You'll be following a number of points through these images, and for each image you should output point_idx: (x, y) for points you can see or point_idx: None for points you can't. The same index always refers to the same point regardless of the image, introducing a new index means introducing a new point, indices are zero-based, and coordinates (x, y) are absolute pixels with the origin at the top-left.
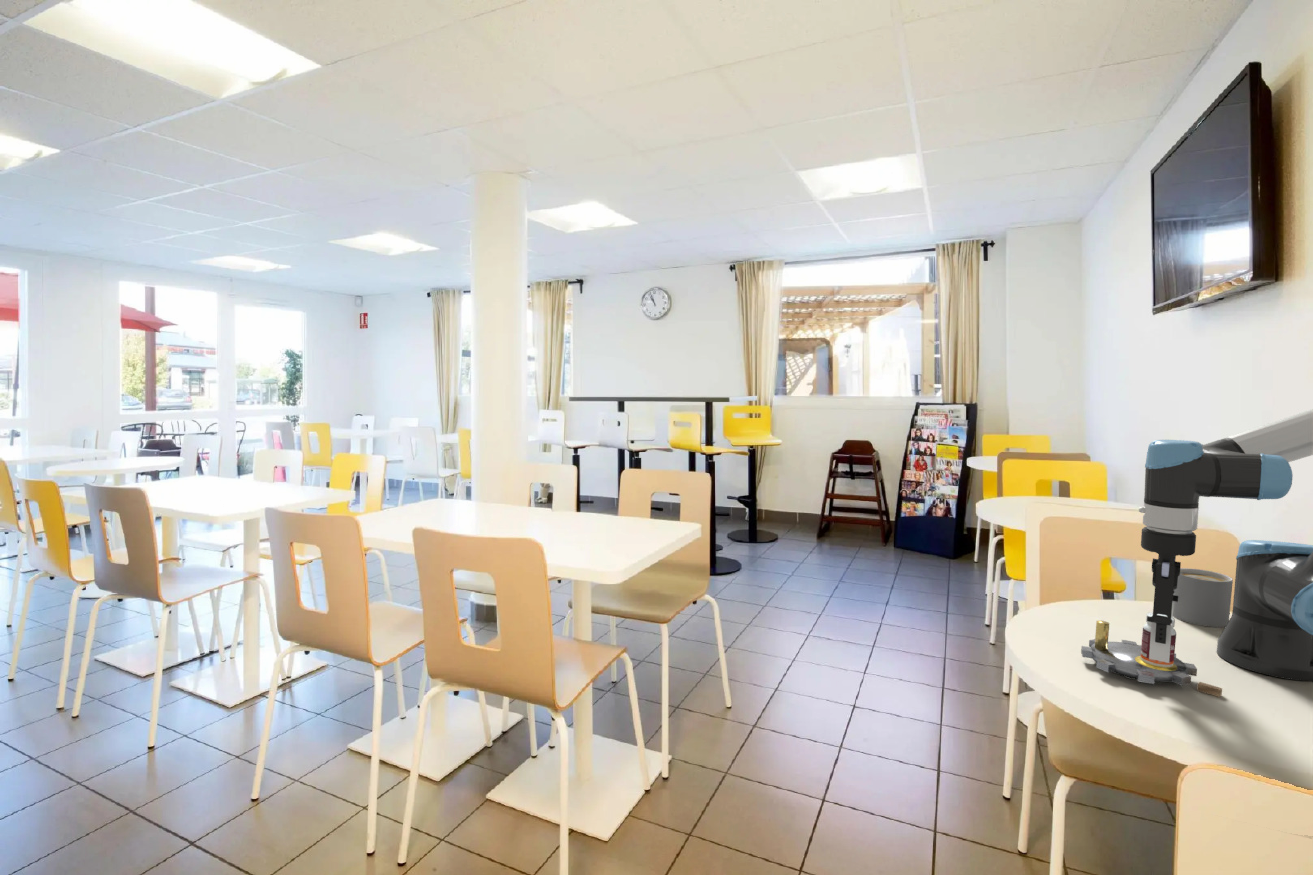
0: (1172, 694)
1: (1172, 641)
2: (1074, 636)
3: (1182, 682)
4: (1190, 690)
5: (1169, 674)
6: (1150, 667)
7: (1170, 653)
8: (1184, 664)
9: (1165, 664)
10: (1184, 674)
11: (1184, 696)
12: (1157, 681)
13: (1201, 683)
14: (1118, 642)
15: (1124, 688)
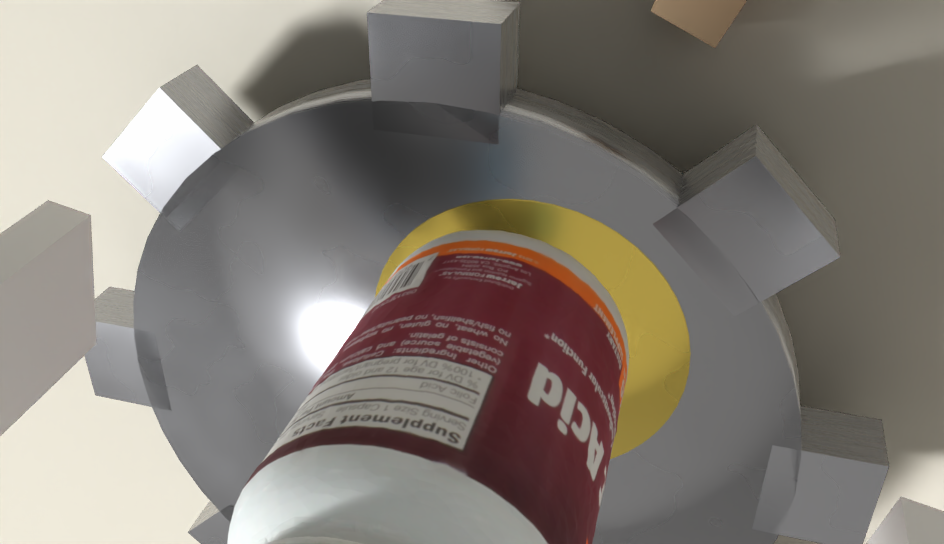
0: (891, 261)
1: (553, 463)
2: (45, 489)
3: (826, 222)
4: (738, 85)
5: (772, 327)
6: (665, 422)
7: (586, 373)
8: (423, 105)
9: (619, 335)
10: (731, 203)
11: (909, 182)
12: None
13: (699, 11)
14: (175, 435)
15: (872, 530)
